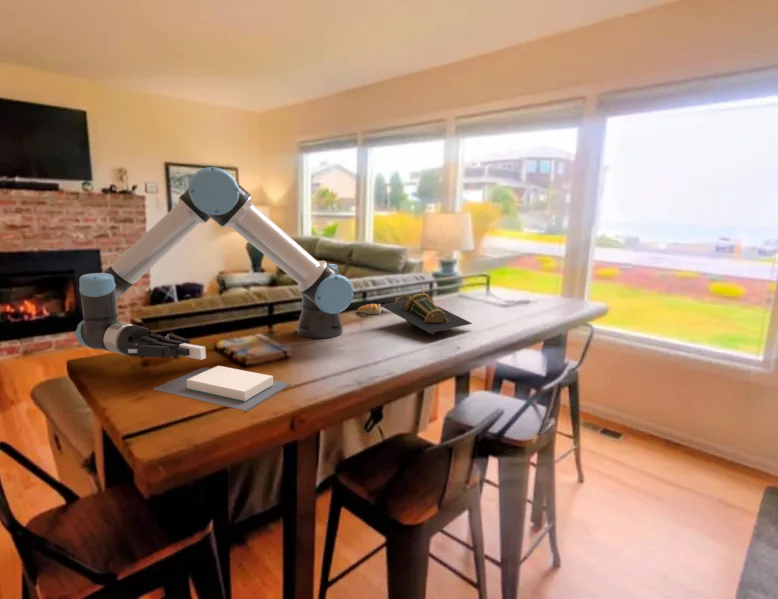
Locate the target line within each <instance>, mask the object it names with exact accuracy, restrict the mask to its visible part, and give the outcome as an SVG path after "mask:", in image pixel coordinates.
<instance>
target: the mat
mask: <svg viewBox="0 0 778 599" xmlns="http://www.w3.org/2000/svg"><path fill="white" fill-rule="evenodd" d="M212 368H213V367H212ZM212 368H211V367H208V366H207V367H206V366H203V367H201V368H199V369H196V370H194V371H191V372H190V373H187V374H184V375H182V376H179V377H177V378H174V379H172V380H170V381H168V382H165V383H163V384H160V385H158V386H156V387H153V388H152V390H153V391H158V392H163V393H167V394H169V395H170V394H171V395H174V396H175V395H176V396H180V397H185V398H189V399H193V400H196V401H197V400H198V401H202V402H206V403H211V404H214V405H219V406H224V407H228V408H233V409H236V410H241V411H243V413H247V412H249V411H251V410H253V408H256V407H257V406H259V405H261V404H263V403H264V402H266V401H267V400H269V399H271V398H272V397H274V396H275V395H277V394H278V393H280V392H281V391H283V390H285V389H287V388H288V387H289V386H291V383H288V382H283V381H280V380H279V381H278V380H274V379H273V385H272V386H271V387H270V388H268V389H266V390H265V391H263V392H261V393H259V394H258V395H256V396H254V397H252V398H251V399H249V400H247V401H246V402H243V401H238V400H234V399H229V398H225V397H220V396H216V395H211V394H207V393H202V392H198V391H193V390H189V389H188V388H187V379H189V378H191V377H193V376H196V375H198V374H200V373H203V372H205V371H207V370H210V369H212Z"/></svg>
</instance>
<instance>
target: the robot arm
mask: <svg viewBox="0 0 778 599" xmlns="http://www.w3.org/2000/svg"><path fill="white" fill-rule="evenodd" d="M210 219H212V220H213V221H214V222H215V223H217V224H218V225H219V226H220V227H221V228H232V229H233V230H234V231H235V232H236V233H238V235H239V236H241V237H243V239H244V240H245V241H247V242H248V243H250V245H252V246H253V247H254V248H256V249H257V250H258V251H259V252H260V253H262V254H263V255H264V256H265V257H266V258H267V259H268V260H270V261H271V262H272V263H274V265H276V266H277V267H278V268H279V269H281V270H282V271H283V272H284V273H286V275H288V276H289V277H290V278H291V279H292V280H294V281H295V282H296V283H297V286H298V291H299V292H300V293H301V313H300V316H299V320H298V323H297V325H296V334H297V335H299V336H300V337H303V338H304V337H305V338H311V339H330V338H333V337H335V338H336V337H337V336H340V335H342V334H343V332H344V330H343V329H344V328H343V326H344V325H343V322H342V319H341V316H340V313H343V311H346V309H347V308H349V306H350V305H351V303H352V302H353V299H354V287H353V285H352V283H351V281H350V280H349V279H348V278H347V277H346V276H344V275H342V274H340V273H339V269H338V268H339V267H338V265H337V264H335V263H328V262H327V261H325V260H317V259H316V258H315V257H313V255H311V254H310V253H309V252H308V251H307V250H306V249H304V248H303V247H302V246H301V245H300V244H299V243H298V242H296V240H294V239H293V238H292V237H291V236H289V234H287V233H286V232H285V231H284V230H283V229H282V228H281V227H279V225H277V224H276V223H275V222H274V221H273V220H271V219H270V218H269V217H268V216H267V215H266V214H265V213H263V212H262V210H260V209H259V208H258V207H257V206H256V205H254V203H253V196H252V195H251V194H250V193H249V192H248V191H247V190H246V189H245V188H244V187H243V186H242V185H240V183H238V182H237V180H236V179H235V178H234V176H233V175H232V174H230V173H229V171H227V170H225V169H222V168H220V167H216V166H208V167H203V168H202V169H200V170H198V171H197V172H196V173H194V174H193V176H192V177H191V178H190V181H189V183H188V188H187V189H186V190H185V192H183V194H181V195H180V196H179V197H178V203H177V204H176V205H175V206H174V207H172V209H171V210H169V212H167V213H166V214H165V215H164V216H163V217H162V218H161V219H160V220H159V221H157V222H156V223H155V224H154V225H153V226H152V227H150V229H149V230H148V231H146V232H145V233H144V234H143V235H142V236H141V237H140V238H139V239H138V240H137V241H136V242H134V243H133V245H131V246H130V247H129V248H128V249H127V250H125V252H123V253H122V255H120V256H119V257H118V258H117V259H116V260H115V261H114V262H113V263H111V264H110V266H109V267H107V268H106V269H105V270H104V271H103V272H94V273H87V274H83V275H81V276H79V279H78V280H79V287H78V289H79V293H80V301H81V309H82V320H81V321H80V322H79V323H78V324H77V326H76V330H75V333H74V334H75V335H74V336H75V338H76V340H77V341H78V343H79V344H81V345H82V346H83V347H88V348H90V349H92V350H102V351H105V352H106V351H107V352H111V353H117V354H120V355H121V356H124V355H126V356H129V357H134V358H135V357H137V358H139V357H151V358H161V359H169V358H170V357H171V356H172V357H173V360H178V359H179V356H180V357H185V358H190V359H195V360H199V361H200V360H201V361H202V360H204V359H206V358H207V354H206V353H207V352H206V346H205V345H204V346H203V345H199V344H198V345H197V344H192V343H191V339H188V338H185V337H183V336H179V335H177V334H174V332H169V333H167V334H166V336H164V335H161V334H157V333H153V332H152V331H151V329H149V328H147V327H145V326H142V325H135V324H131V323H123V322H119V318H118V317H119V315H118V306H117V305H118V304H117V303H118V302H117V301H118V300H119V299H120V298H121V297H122V296H123V295H124V294H125V293H126V292H127V291H128V290H130V288H131V287H133V285H135V283H136V282H138V281H139V280H140V279H141V278H142V277H143V276H144V275H145V274H146V273H147V272H148V271H149V270H150V269H152V268H153V267H154V266H155V265H156V264H158V262H159V261H160V260H161V259H163V257H165V256H166V254H168V253H169V252H170V251H171V250H172V249H174V248H175V246H177V244H179V242H181V241H182V240H183V239H184V238H186V236H187V235H188V234H189V233H191V232H192V231H193V230H194V229H195V228H196V227H197V226H198V225H199V224H206V223H207V222H208V221H209V220H210Z"/></svg>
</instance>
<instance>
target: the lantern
mask: <svg viewBox="0 0 778 599" xmlns="http://www.w3.org/2000/svg"><path fill="white" fill-rule="evenodd" d="M421 292H422V293H416V294H414V295H410V294H407V293H406V294H405V295H400V296H398V297H396V298H395V301H394V302H393V303H386V304H380V307H382V308H384V309H385V310H387V311H389V312H391V313H393V314H394V315H395V316H398V317H399V318H402V319H404V320H405V321H406V322H407V325H409V326H412V327H413V326H414V327H418V328H420V329H421V330H424V331H425V332H426V333H428V334H432V335H433V336H434V335H435V334H436V333H439V332H442V333H444V332H445V330H449V329H454V328H458V327H459V328H460V327H463V326H468V325H473V322H471V321H468V320H466V319H464V318H462V317H460V316H458V315H457V314H454V313H452V312H450V311H448V310H446V309H444V308H442V307H440V306H438V305H436V304H435V303H434V300H433V298H432V297H431V296H430V295H428V294H426V293H425V290H424V289H422V291H421ZM401 298H408V299H407V300H398V299H401Z"/></svg>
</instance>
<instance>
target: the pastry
mask: <svg viewBox="0 0 778 599" xmlns="http://www.w3.org/2000/svg"><path fill="white" fill-rule="evenodd" d="M380 305H381V303H370V304H364V305H361V306H359V307H358V308H357V312H359V313H361V314H365V315H366V314H367V315H380V314H381V311H382V308H381V307H382V306H380Z"/></svg>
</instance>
